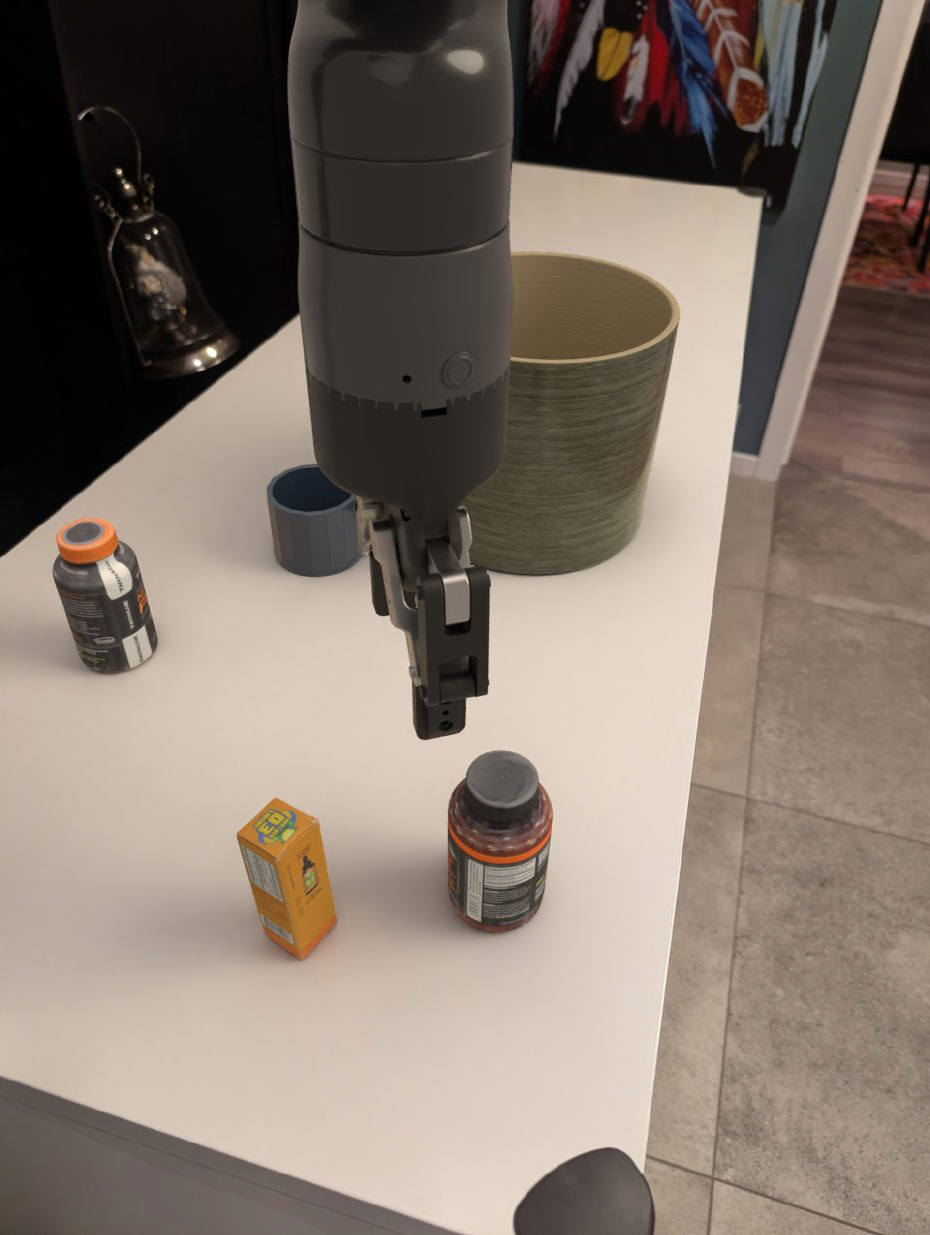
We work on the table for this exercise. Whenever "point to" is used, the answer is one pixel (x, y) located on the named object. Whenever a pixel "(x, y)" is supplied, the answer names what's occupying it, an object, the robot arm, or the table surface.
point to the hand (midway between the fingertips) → (416, 666)
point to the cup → (312, 522)
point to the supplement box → (288, 876)
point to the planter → (576, 414)
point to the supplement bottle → (498, 842)
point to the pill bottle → (103, 596)
